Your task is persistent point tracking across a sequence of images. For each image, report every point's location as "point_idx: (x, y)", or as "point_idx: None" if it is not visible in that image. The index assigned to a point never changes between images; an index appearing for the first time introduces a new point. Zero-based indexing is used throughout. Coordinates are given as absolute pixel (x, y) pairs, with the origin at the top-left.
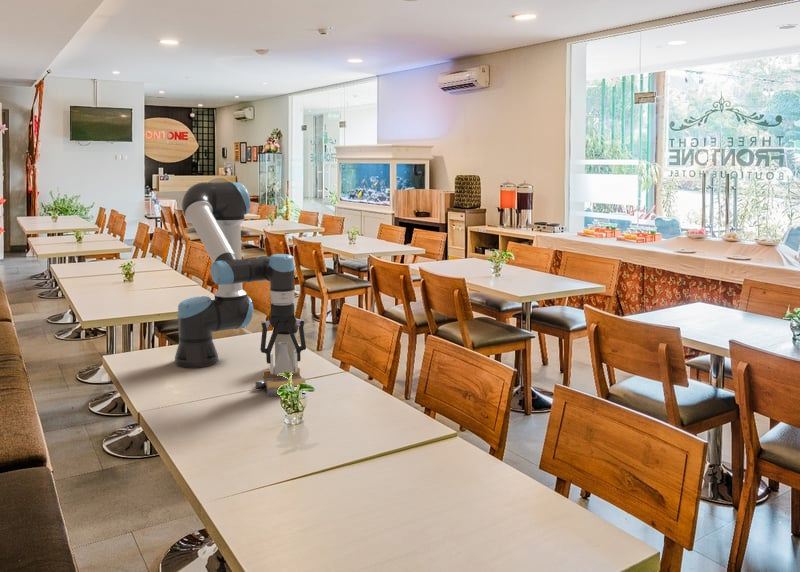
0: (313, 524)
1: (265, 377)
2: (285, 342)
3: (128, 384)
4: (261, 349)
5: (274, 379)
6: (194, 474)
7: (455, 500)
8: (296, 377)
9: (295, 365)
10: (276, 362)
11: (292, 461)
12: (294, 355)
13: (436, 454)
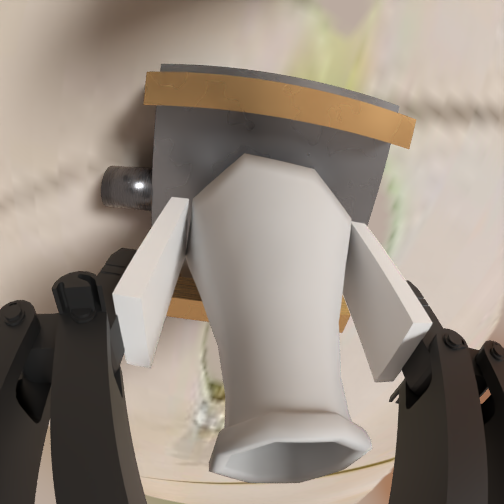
0: (193, 497)
1: (167, 109)
2: (344, 444)
3: None
4: (25, 384)
5: (214, 167)
6: None
7: (305, 499)
8: (354, 183)
9: (349, 303)
10: (204, 281)
11: (189, 472)
12: (377, 339)
13: (351, 476)
